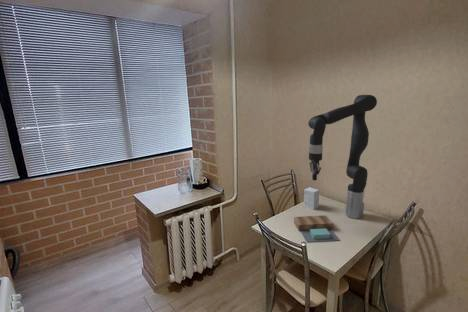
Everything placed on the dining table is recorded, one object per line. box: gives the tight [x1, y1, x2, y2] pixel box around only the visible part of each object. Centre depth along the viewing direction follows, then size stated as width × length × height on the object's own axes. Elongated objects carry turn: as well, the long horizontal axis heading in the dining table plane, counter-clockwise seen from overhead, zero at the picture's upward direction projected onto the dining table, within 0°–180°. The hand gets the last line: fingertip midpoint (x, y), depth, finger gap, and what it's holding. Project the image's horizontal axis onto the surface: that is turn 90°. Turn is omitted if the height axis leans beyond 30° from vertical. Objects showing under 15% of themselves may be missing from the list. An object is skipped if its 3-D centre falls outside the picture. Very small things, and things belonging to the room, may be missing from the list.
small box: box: [303, 186, 320, 211], centre depth 173 cm, size 8×6×13 cm
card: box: [310, 229, 330, 239], centre depth 137 cm, size 9×6×2 cm, turn 92°
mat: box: [300, 230, 341, 243], centre depth 138 cm, size 18×11×1 cm, turn 92°
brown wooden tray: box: [293, 214, 334, 232], centre depth 148 cm, size 20×10×4 cm, turn 92°
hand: (314, 179), depth 149 cm, fingers closed
